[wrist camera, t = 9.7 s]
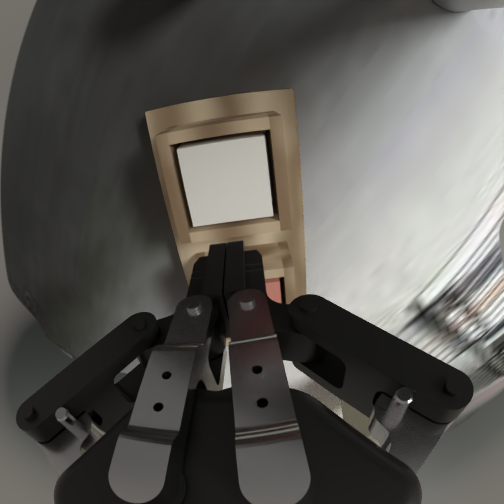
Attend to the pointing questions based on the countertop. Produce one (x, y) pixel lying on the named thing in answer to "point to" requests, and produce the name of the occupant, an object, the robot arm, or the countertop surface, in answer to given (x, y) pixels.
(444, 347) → the countertop surface
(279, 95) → the frame
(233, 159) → the white key
